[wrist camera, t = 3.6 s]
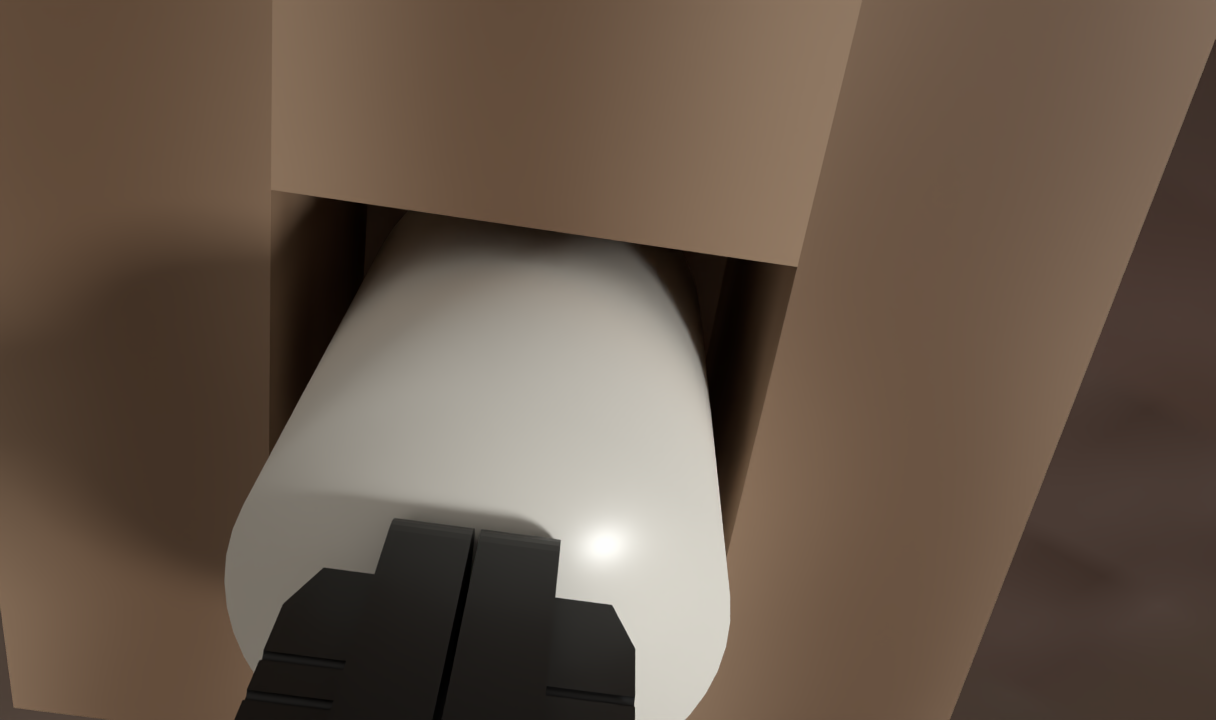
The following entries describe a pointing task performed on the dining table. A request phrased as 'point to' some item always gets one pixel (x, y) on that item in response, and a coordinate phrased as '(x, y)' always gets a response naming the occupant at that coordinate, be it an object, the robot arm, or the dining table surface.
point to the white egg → (510, 436)
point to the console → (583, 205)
